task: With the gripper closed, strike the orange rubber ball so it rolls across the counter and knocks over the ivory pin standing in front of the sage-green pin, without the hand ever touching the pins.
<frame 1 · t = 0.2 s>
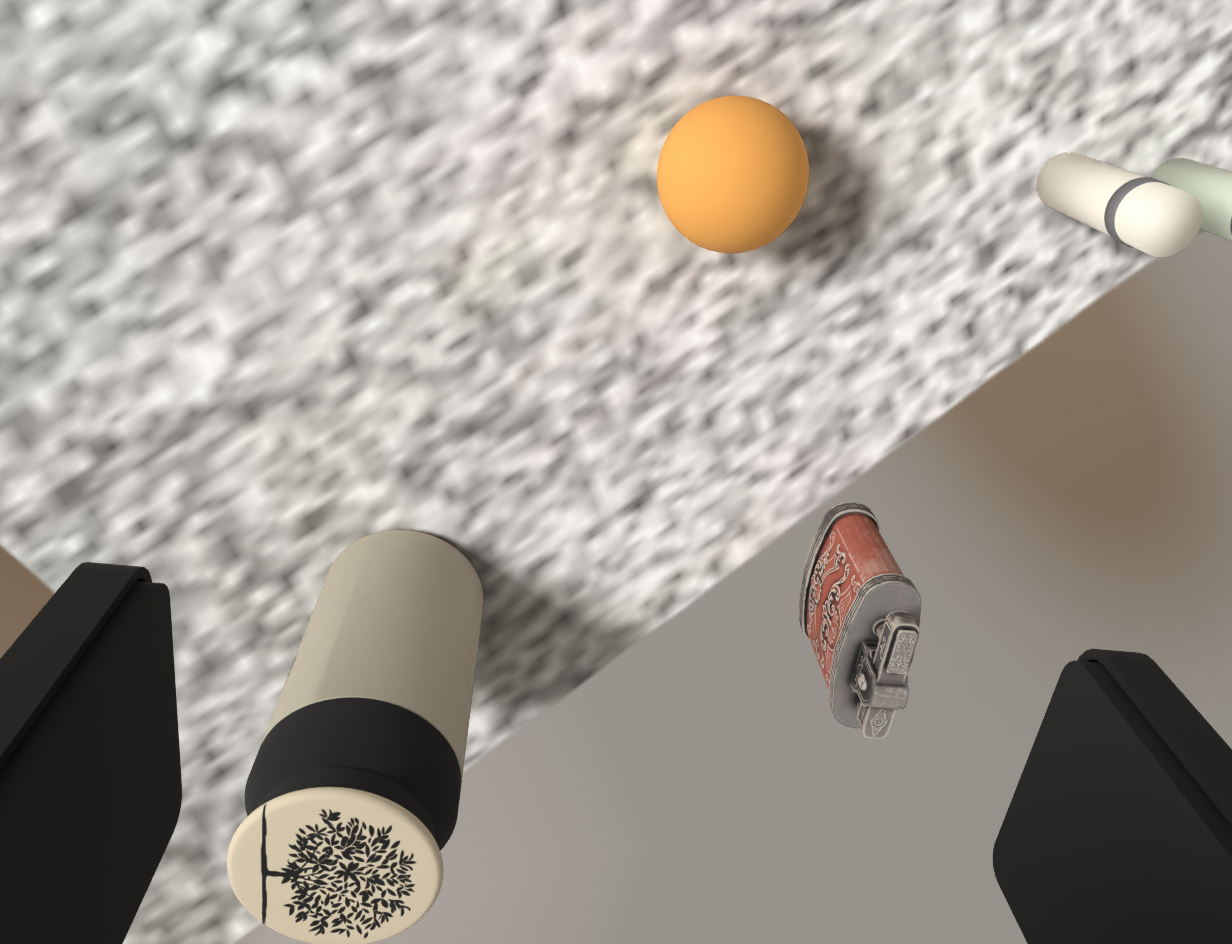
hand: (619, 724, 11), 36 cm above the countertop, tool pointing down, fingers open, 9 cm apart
ivory pin: (1064, 180, 44), on the countertop
sage pin: (1174, 186, 44), on the countertop
travel mug: (406, 592, 52), on the countertop
ball: (732, 176, 40), on the countertop
lighter: (834, 568, 53), on the countertop
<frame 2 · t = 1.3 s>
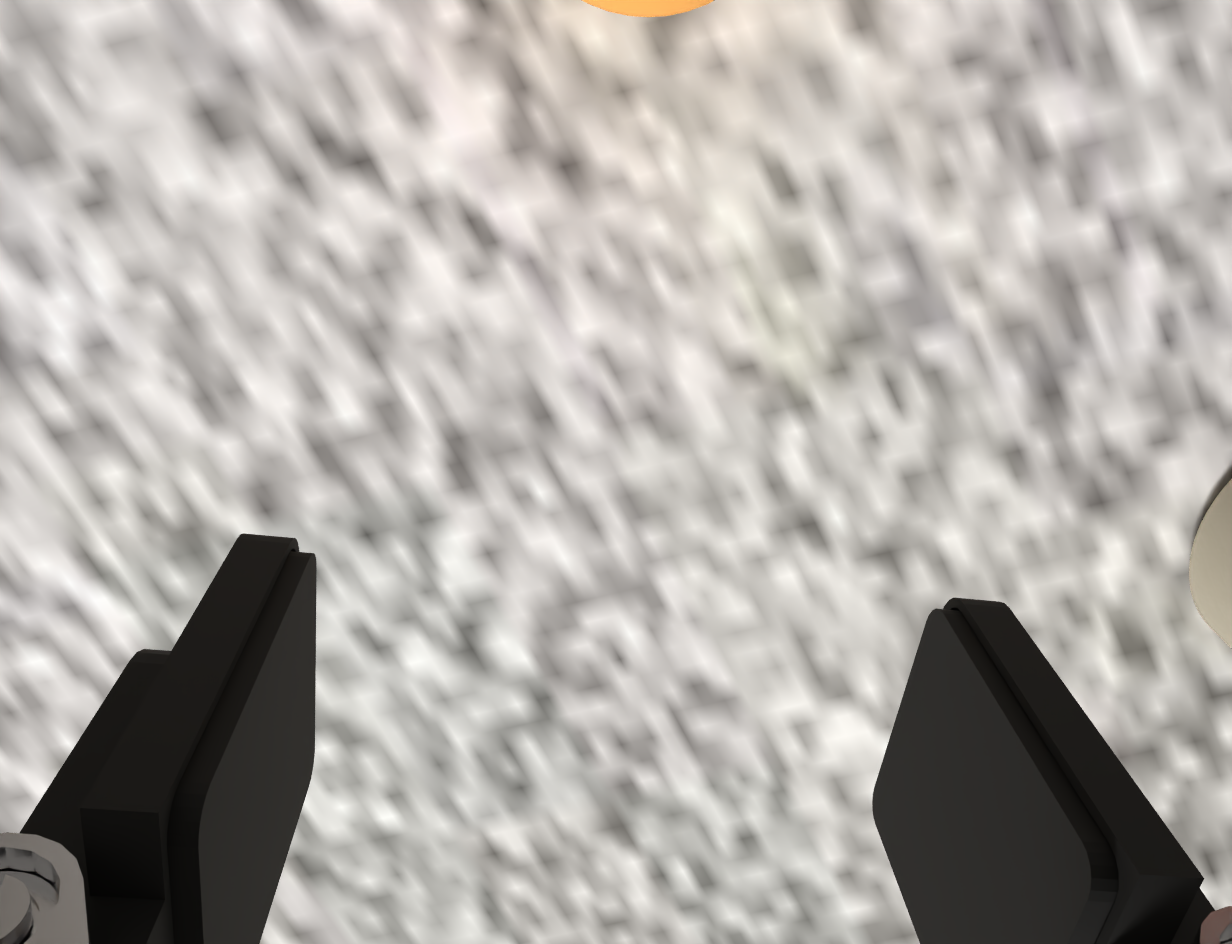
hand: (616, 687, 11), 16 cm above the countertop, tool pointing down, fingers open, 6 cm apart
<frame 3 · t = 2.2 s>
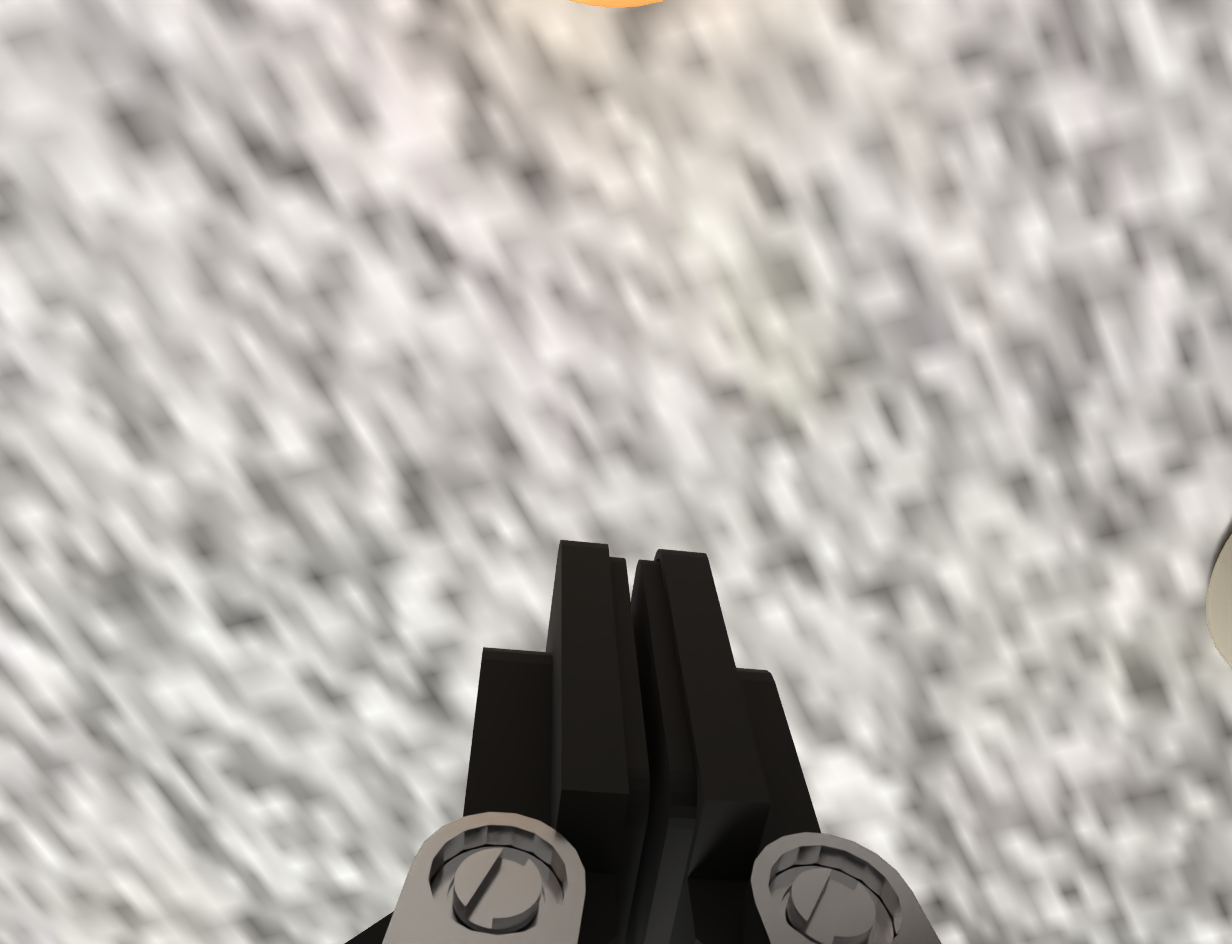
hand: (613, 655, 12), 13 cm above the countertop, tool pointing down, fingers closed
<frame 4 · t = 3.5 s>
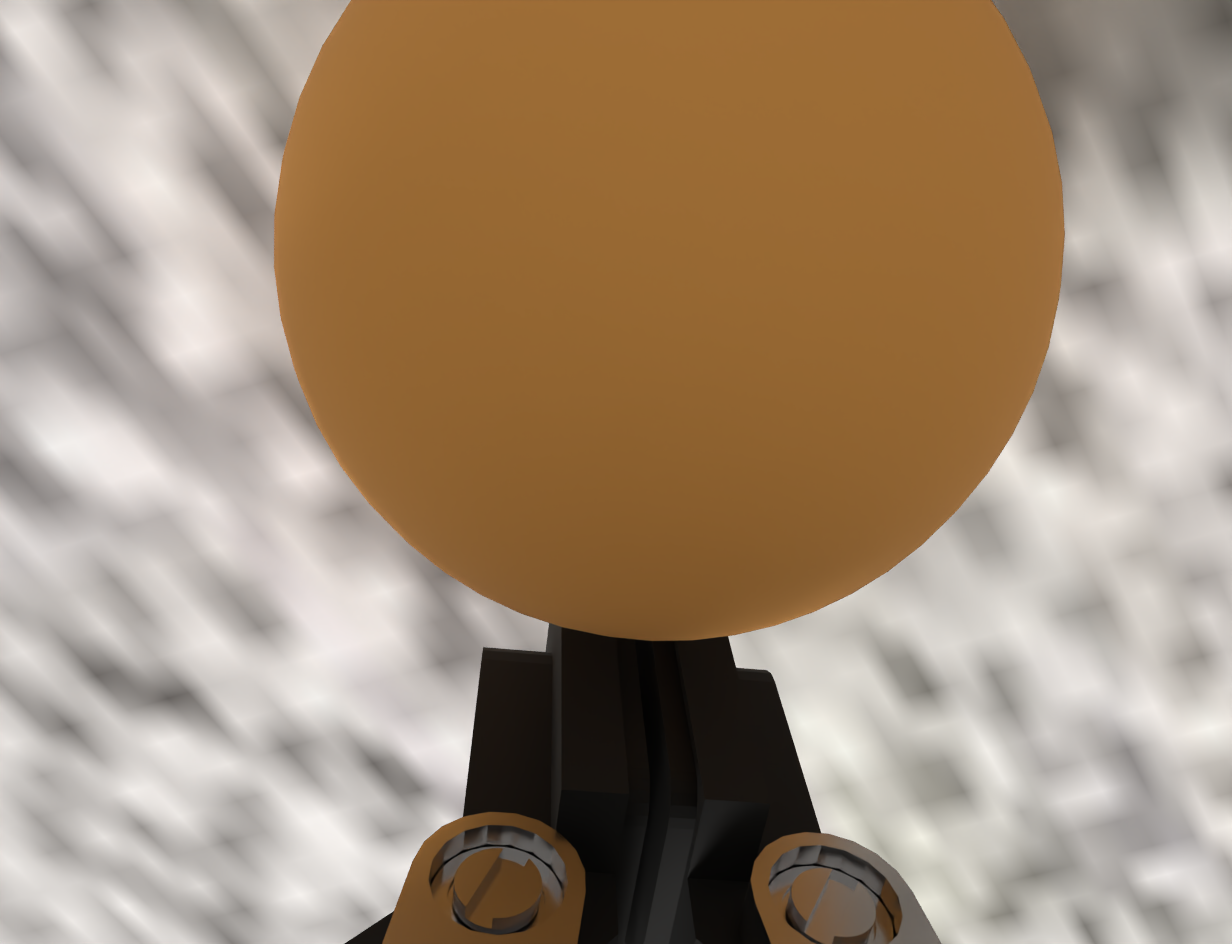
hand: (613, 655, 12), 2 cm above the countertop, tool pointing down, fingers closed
ball: (662, 268, 8), on the countertop
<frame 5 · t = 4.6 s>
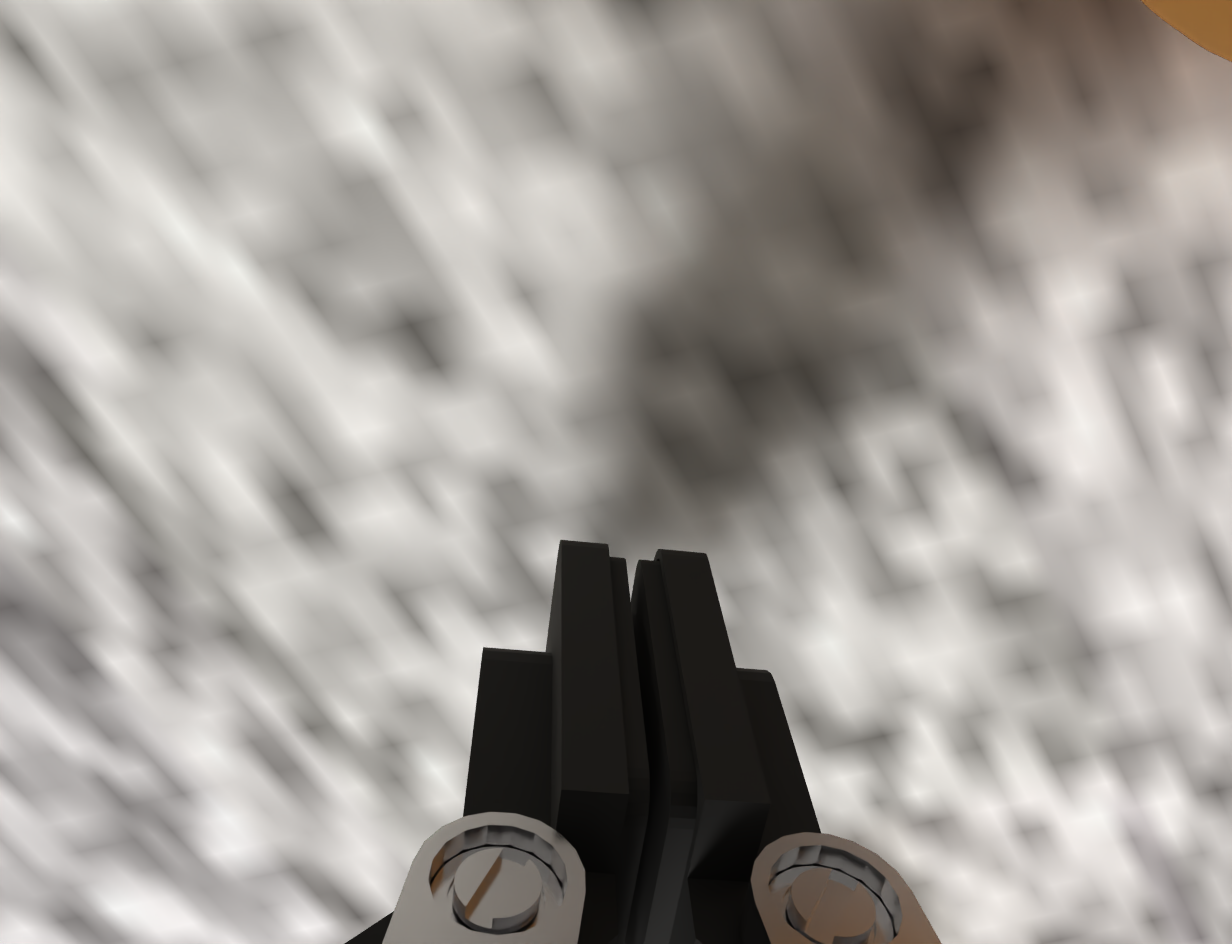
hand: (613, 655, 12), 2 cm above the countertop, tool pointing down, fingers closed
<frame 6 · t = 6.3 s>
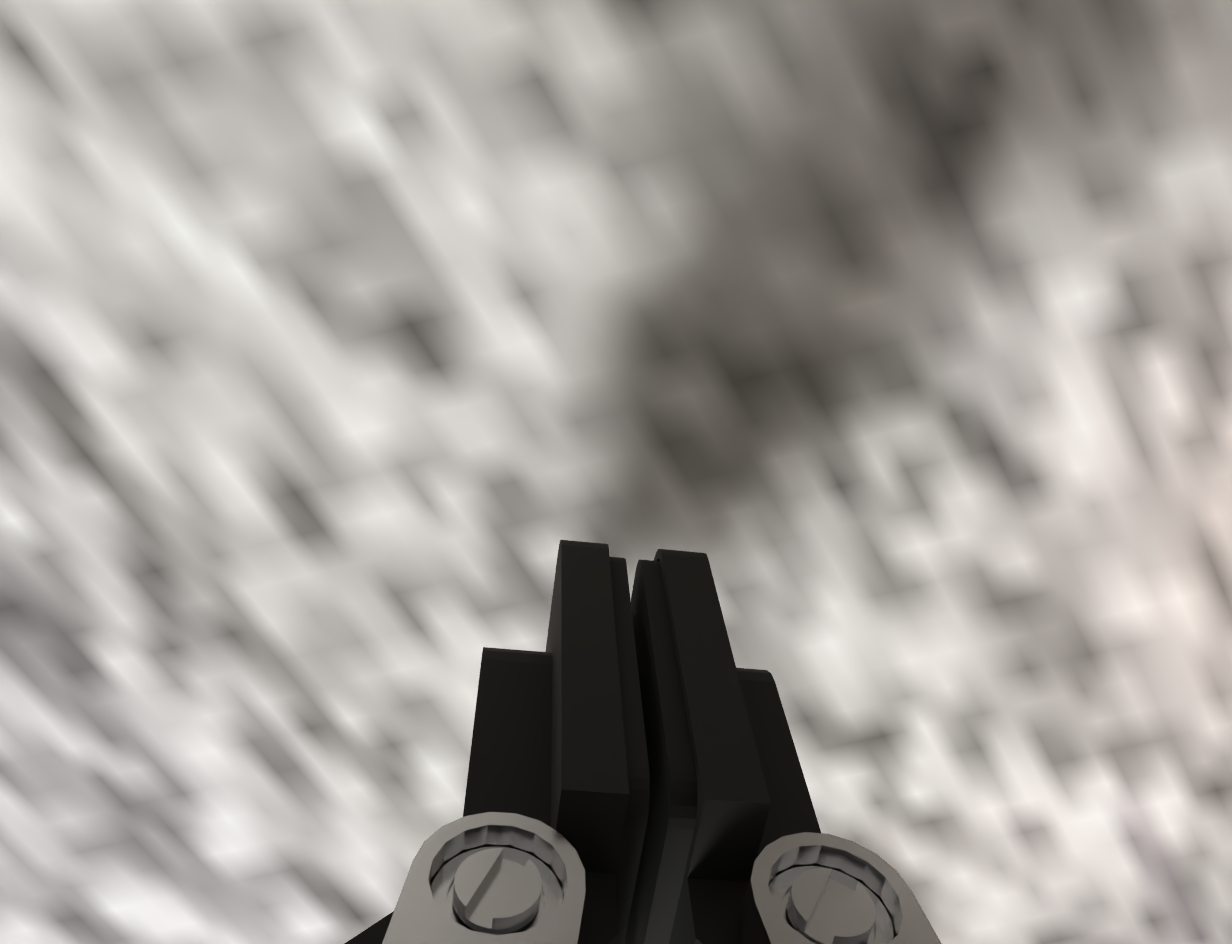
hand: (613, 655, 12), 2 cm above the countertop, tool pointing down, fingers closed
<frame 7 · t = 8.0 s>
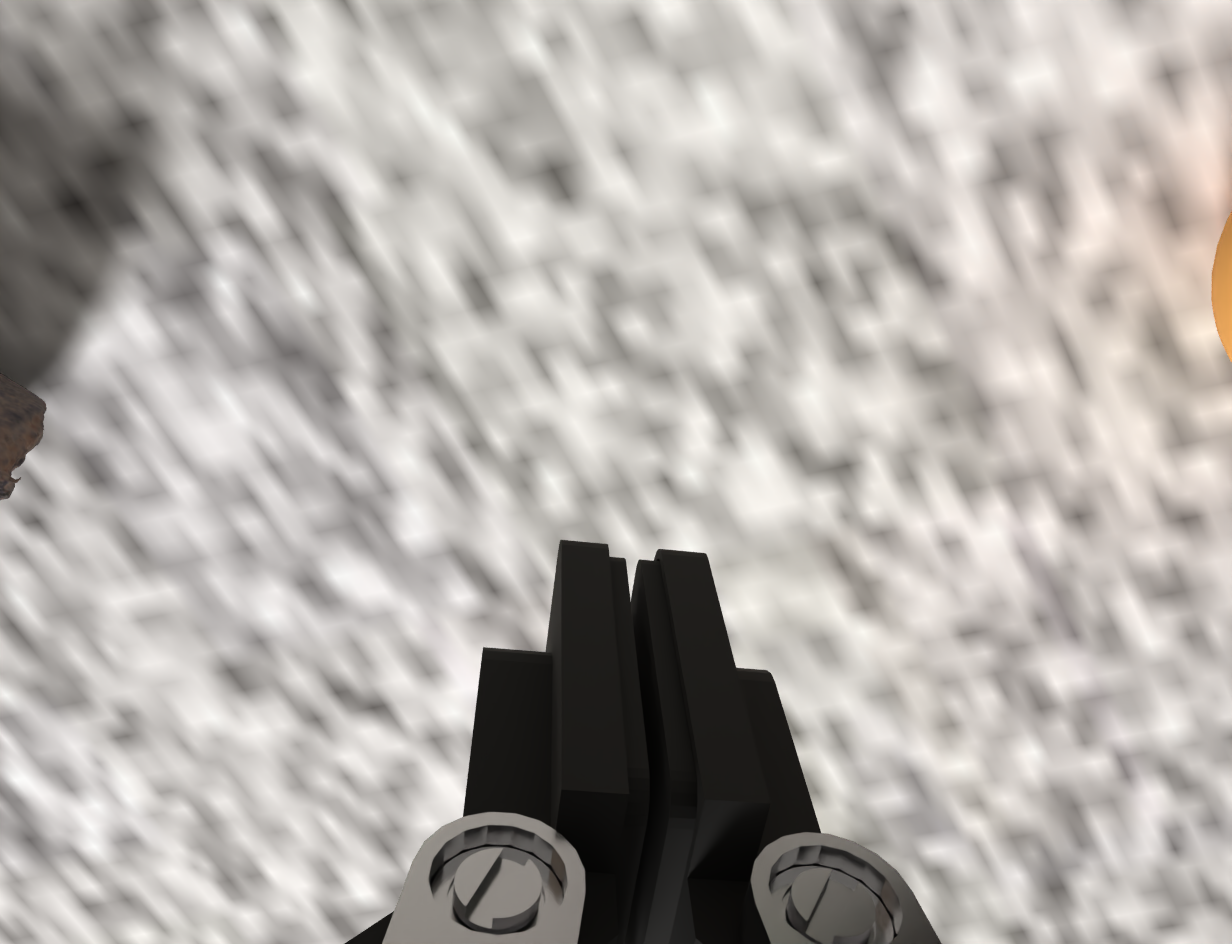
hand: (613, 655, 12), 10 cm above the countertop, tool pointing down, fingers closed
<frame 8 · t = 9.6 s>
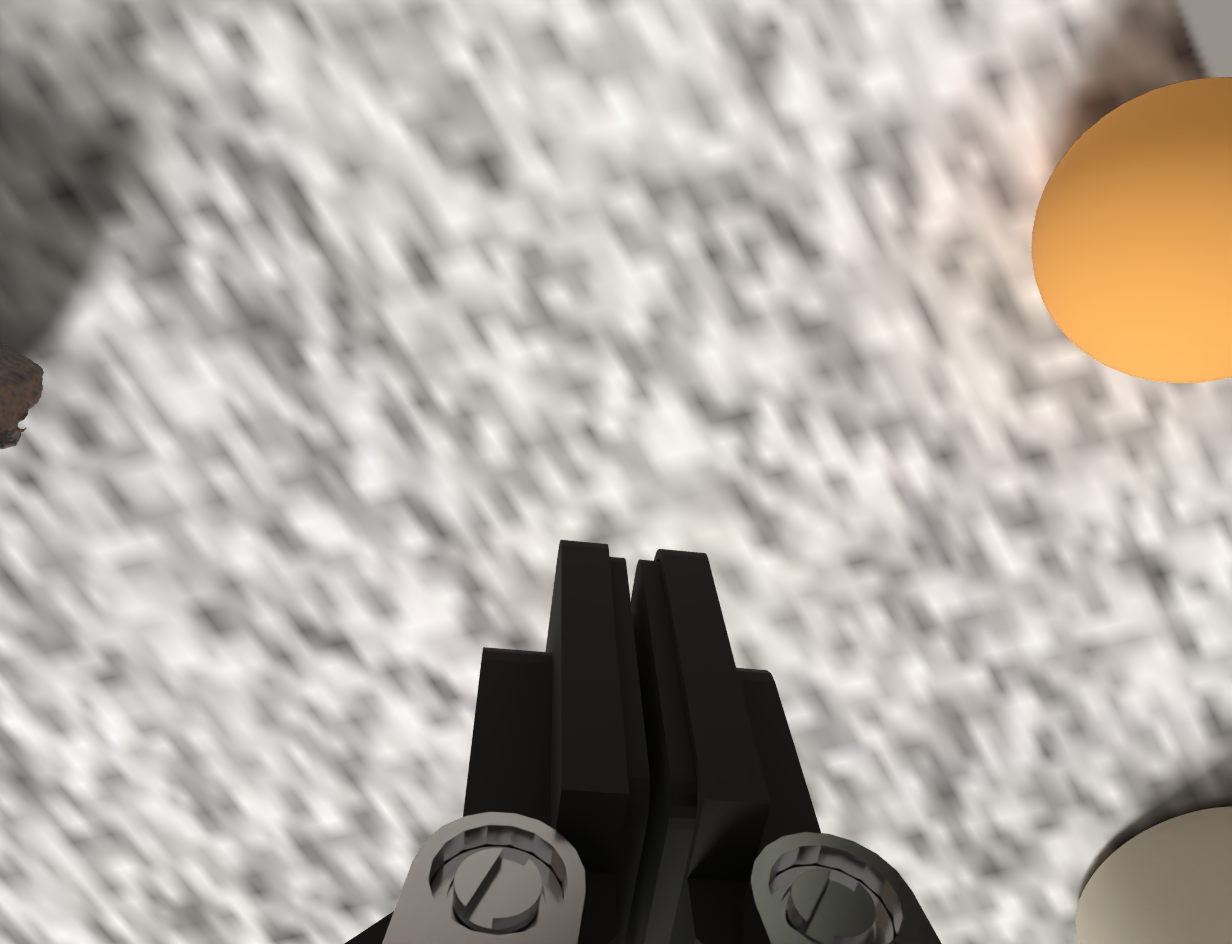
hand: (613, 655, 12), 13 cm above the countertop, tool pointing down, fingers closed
travel mug: (1188, 885, 33), on the countertop
ball: (1190, 235, 21), on the countertop
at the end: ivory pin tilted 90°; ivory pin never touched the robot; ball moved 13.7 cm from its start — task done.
